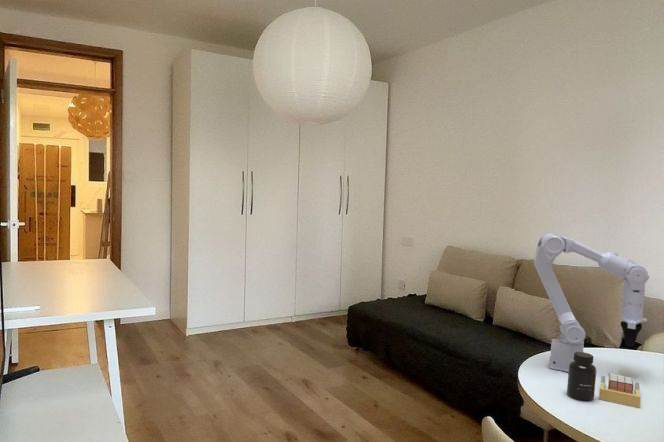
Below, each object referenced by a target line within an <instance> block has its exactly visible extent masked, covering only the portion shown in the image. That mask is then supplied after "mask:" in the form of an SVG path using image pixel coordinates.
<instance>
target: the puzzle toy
mask: <svg viewBox="0 0 664 442" xmlns="http://www.w3.org/2000/svg"><path fill="white" fill-rule="evenodd" d="M607 389H610V390H615V391H620V392H625V393H630V394H634V381H633V378H632V377H629V376H624V375H619V374H618V375H617V374H614V373H609V374H608V386H607Z"/></svg>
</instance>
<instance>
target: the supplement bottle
mask: <svg viewBox="0 0 664 442" xmlns="http://www.w3.org/2000/svg"><path fill="white" fill-rule="evenodd" d="M573 360H574V361H572V362H571V363H570V364H569V372H567V373H568V375H567V385H566V393H567V395H568V396H569V397H571V398H572V399H574V400H577V401H581V402H590V401H592V400H593V401H594V398H595V392H596V391H595V390H596V378H597V368H596V367H595V365H594V356H593V354H591V353H588V352H584V351H583V352H575V353H574V357H573Z"/></svg>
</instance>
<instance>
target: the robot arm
mask: <svg viewBox="0 0 664 442" xmlns="http://www.w3.org/2000/svg"><path fill="white" fill-rule="evenodd" d="M562 253H565V254H568V253H575V254H577V255H580V256H583V257H585V258H586V259H589V260H592V261H594V262H596V263H597V264H598V267H599V268H600V269H602V270H603V271H606V272H608V273H610V274H612V275H614V276H617V277H618V278H623V287H622V296H621V297H622V300H621V311H620V316H619V318H620V320H621V321H620V327H621V328H622V331H623V336H624V338H623V339H624V344H625V347H628V348H629V347H630V348H634V347H635V345H636V341H637V337H638V336H639V333H640V331H641V330H642V328H643V324H642V323H643V322H645V323H647V322H648V318H646V317H644V305H645V303H644V302H645V290H646V289H645V287H646V283H647V282H648V280H649V279H650V276H649V274H648V271H647V269H645V267H643V266H641V265H640V264H637V263H636V262H635V261H633V260H631V259H629V260H628V259H625V258H623V257H621V256H619V253H617V252H615V251H612V252H610V251H607V252H603V253H602V252H600V251H598V250H596V249H594V248H592V247H590V246H587V245H585V244H583V243H582V242H580V241H577V240H575V239H573V238H570V237H567V236H563V235H561V234H560V235H558V234H556V233H555V232H546V233H544V234H543V235H541V237H540V239H539V240H538V242H537V243H536V251H535V257H534V260H533V261H534V262H533V265H534V267H535V269H536V272H537V274H538V277H539V278H540V281H541V283H542V285H543V288H544V289H545V292H546V294H547V297H548V298H549V301H550V303H551V305H552V307H553V310H554V312H555V314H556V316H557V319H558V322H559V326H558V327H559V328H558V329H559V330H560V333H561V334H560V336H559V337H558V338H552V340H551V346H550V356H549V369H551V370H557V371H561V372H567V373H568V372H569V364H570V363H571V362H572V361H574V360H573V357H574V353H575V352H584V348H585V346H584V344H585V339H586V331H585V329H584V328H583V327H582V326H581V323H580V322H579V321H578V320H577V319H576V317H575V315H574V314H573V311H572V309H571V307H570V305H569V303H568V301H567V300H568V299H567V298H566V296H565V294H564V291H563V290H562V289H563V288H562V287H561V285H560V283H559V280H558V278H557V275H556V274H555V271H554V270H553V269H554V268H553V267H552V265H553V263H554V262H555V259H556V258H557V257H558V256H559V255H561V254H562Z"/></svg>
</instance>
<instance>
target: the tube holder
mask: <svg viewBox="0 0 664 442" xmlns="http://www.w3.org/2000/svg"><path fill="white" fill-rule="evenodd" d="M640 389H641V388H640V382H637V381H635V382H634V389H633V392H634V393H633V394H630V393H625V392H620V391H615V390H610V389H608V388H606V375H601V377H600V386H599V394H598V396H599V397H598V399H599V400H600V399H601V401H605V400H606V402H609V401H610V402H611V403H614V404H618V405H625V406H628V407H633V408H637V409H640V407H641V391H640Z"/></svg>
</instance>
